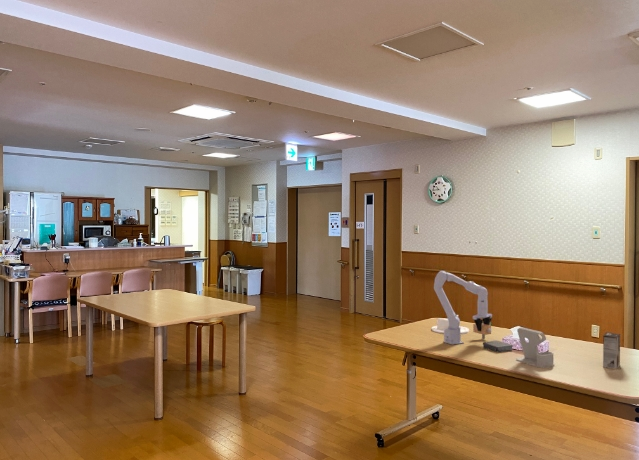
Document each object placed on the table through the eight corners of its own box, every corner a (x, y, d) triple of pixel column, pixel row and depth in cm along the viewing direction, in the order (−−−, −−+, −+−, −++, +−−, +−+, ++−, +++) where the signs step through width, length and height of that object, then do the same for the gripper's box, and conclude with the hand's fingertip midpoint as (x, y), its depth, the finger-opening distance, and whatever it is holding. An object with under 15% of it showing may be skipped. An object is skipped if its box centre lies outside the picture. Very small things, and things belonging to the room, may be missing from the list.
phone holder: (556, 365, 254) (556, 330, 254) (542, 368, 250) (542, 332, 249) (528, 357, 270) (528, 324, 269) (514, 360, 265) (514, 326, 265)
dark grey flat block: (498, 352, 280) (498, 347, 280) (482, 347, 291) (482, 342, 291) (512, 350, 285) (512, 345, 285) (497, 345, 296) (497, 340, 296)
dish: (473, 329, 342) (473, 312, 341) (463, 336, 320) (463, 318, 320) (438, 325, 355) (438, 309, 354) (426, 332, 333) (426, 315, 333)
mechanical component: (492, 339, 312) (492, 323, 312) (475, 339, 312) (475, 323, 312) (490, 337, 315) (490, 322, 315) (474, 337, 315) (474, 322, 315)
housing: (473, 332, 302) (473, 323, 302) (479, 331, 304) (479, 322, 304) (487, 335, 293) (487, 326, 293) (492, 334, 295) (492, 325, 295)
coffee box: (606, 363, 258) (606, 332, 258) (620, 365, 254) (620, 333, 254) (602, 367, 251) (602, 335, 251) (617, 369, 247) (617, 337, 247)
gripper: (479, 309, 291) (479, 333, 292) (496, 307, 299) (496, 330, 299) (470, 308, 297) (470, 330, 298) (487, 305, 305) (487, 328, 305)
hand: (482, 330), depth 299 cm, fingers closed on housing, 5 cm apart
